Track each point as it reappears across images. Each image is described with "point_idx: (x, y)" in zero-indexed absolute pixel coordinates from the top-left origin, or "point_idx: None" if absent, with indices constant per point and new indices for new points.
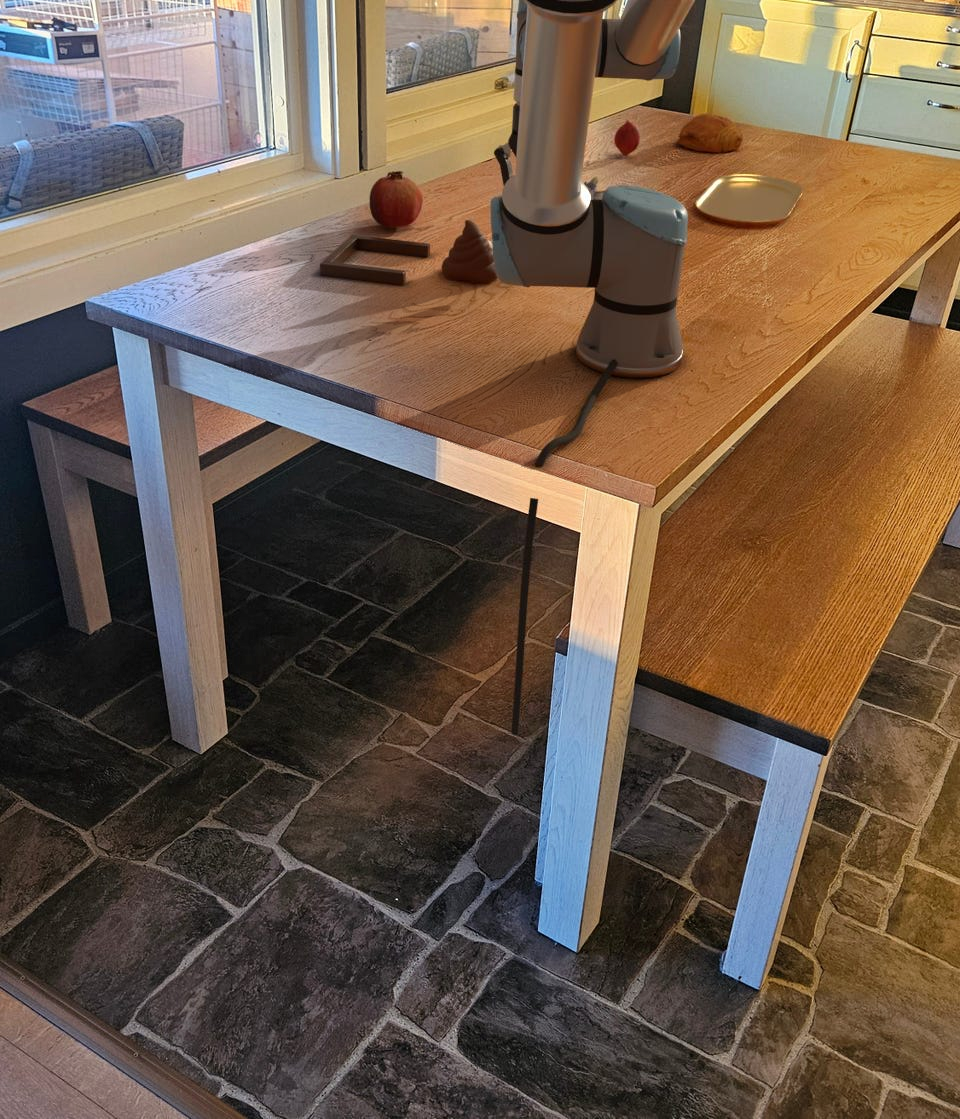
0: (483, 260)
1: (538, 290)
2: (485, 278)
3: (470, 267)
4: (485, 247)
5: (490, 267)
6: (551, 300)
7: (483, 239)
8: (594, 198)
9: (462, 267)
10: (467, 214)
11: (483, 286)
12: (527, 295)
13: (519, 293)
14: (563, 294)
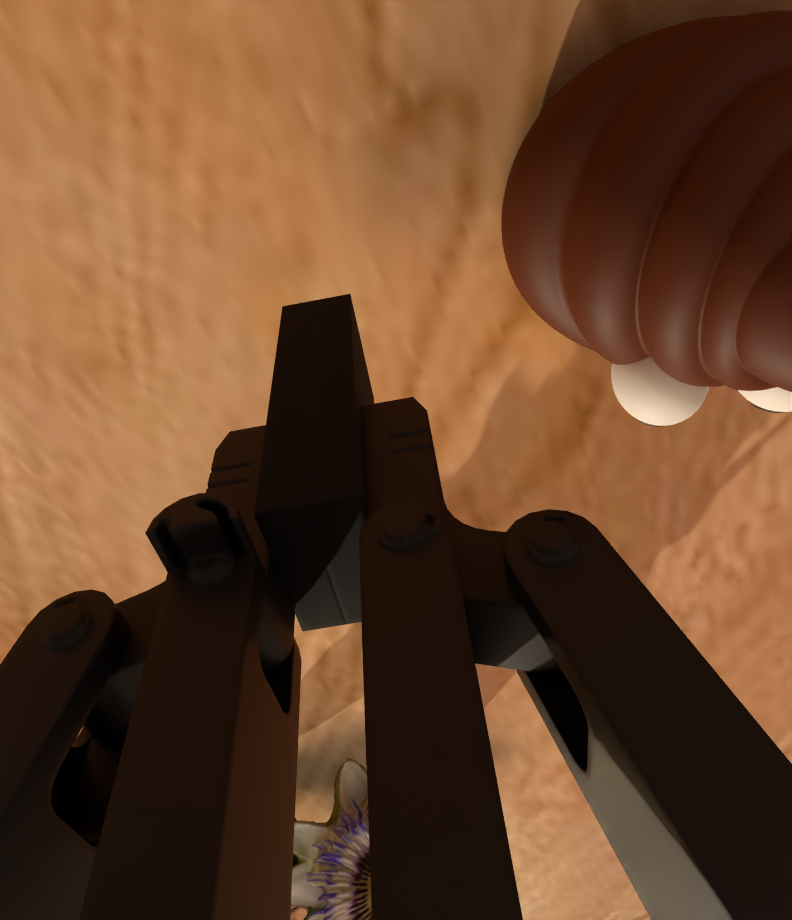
0: (631, 139)
1: (204, 179)
2: (565, 90)
3: (711, 47)
4: (662, 243)
5: (562, 171)
6: (19, 33)
7: (709, 303)
8: (326, 915)
9: (776, 30)
10: (780, 740)
11: (558, 50)
12: (215, 40)
13: (282, 50)
14: (35, 195)
